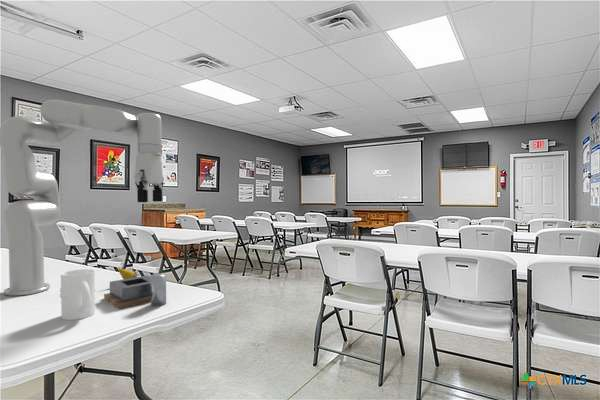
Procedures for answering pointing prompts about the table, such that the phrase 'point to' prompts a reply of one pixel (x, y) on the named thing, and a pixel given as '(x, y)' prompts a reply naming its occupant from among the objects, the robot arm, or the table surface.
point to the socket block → (131, 288)
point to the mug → (77, 294)
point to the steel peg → (158, 289)
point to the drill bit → (127, 273)
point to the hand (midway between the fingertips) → (150, 201)
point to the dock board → (125, 304)
